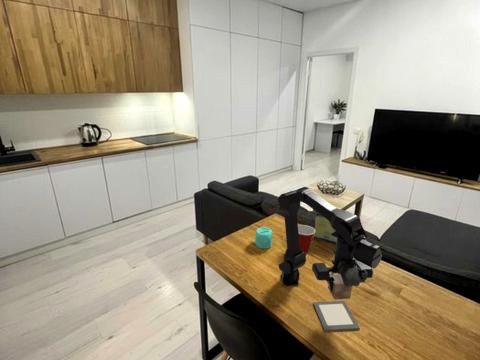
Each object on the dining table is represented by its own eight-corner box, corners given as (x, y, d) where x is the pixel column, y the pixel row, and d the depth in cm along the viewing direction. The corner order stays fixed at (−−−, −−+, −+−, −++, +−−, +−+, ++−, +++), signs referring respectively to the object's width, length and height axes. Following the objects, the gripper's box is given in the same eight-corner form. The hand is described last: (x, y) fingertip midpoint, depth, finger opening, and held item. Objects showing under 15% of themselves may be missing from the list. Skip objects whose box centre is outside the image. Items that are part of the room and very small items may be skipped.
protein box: (318, 230, 150) (320, 205, 145) (346, 237, 142) (350, 211, 137) (313, 238, 141) (315, 212, 136) (343, 246, 134) (346, 219, 129)
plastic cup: (316, 247, 133) (318, 226, 129) (309, 258, 124) (311, 236, 121) (296, 241, 139) (297, 221, 135) (288, 251, 130) (289, 230, 126)
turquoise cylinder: (255, 247, 133) (255, 234, 131) (257, 239, 141) (257, 226, 138) (270, 249, 132) (271, 235, 129) (272, 241, 139) (272, 228, 137)
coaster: (324, 331, 87) (324, 329, 87) (313, 303, 98) (313, 302, 98) (359, 329, 87) (359, 327, 87) (344, 301, 99) (344, 300, 99)
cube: (334, 299, 87) (336, 286, 85) (327, 287, 92) (329, 274, 90) (350, 298, 87) (352, 285, 86) (342, 286, 92) (344, 274, 91)
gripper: (326, 269, 76) (321, 310, 81) (387, 266, 77) (378, 307, 82) (313, 247, 87) (309, 285, 92) (367, 245, 88) (360, 282, 93)
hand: (339, 290), depth 89 cm, fingers closed on cube, 5 cm apart
